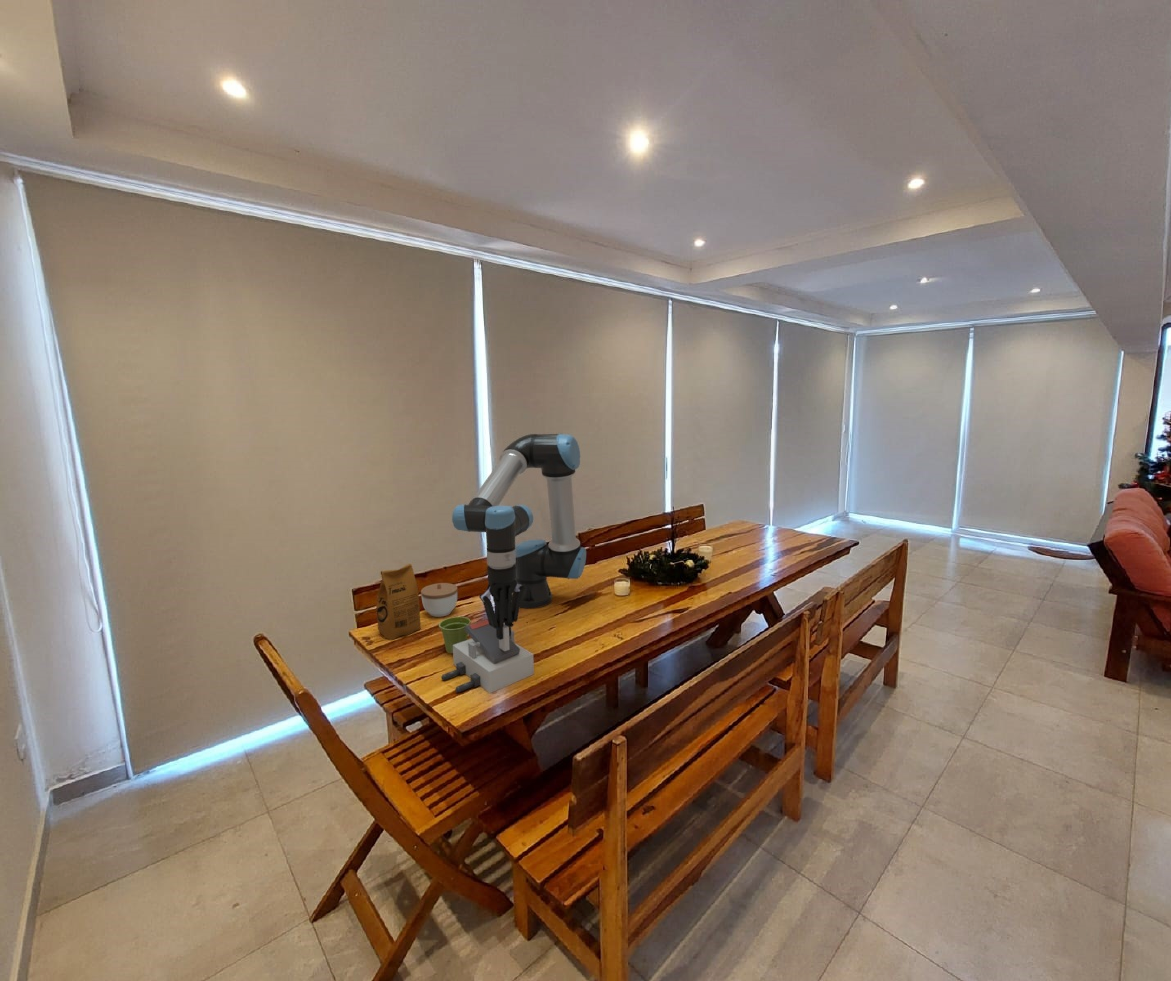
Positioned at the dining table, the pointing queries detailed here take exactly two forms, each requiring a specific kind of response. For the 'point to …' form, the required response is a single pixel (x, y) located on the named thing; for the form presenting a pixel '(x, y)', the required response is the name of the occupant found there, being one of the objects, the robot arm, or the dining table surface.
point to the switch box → (489, 667)
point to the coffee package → (398, 603)
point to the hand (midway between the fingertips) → (504, 648)
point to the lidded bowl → (439, 599)
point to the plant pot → (454, 631)
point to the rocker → (490, 641)
